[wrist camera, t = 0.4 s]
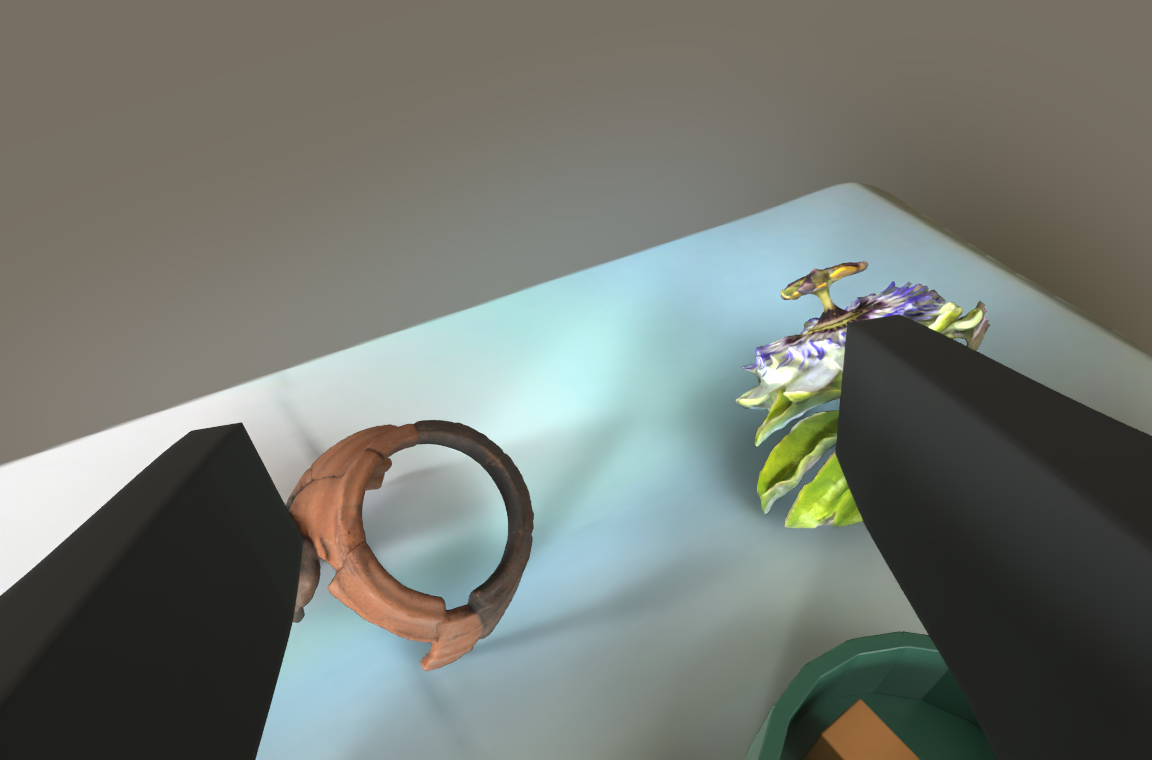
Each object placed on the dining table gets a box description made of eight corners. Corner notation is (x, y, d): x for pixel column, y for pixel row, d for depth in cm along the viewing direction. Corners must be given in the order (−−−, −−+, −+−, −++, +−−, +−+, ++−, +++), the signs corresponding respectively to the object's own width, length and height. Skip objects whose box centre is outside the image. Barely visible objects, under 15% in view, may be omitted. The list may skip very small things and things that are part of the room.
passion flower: (759, 468, 42) (834, 266, 40) (958, 559, 36) (1059, 325, 34) (661, 481, 33) (752, 220, 31) (903, 606, 27) (1037, 290, 25)
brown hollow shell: (425, 447, 36) (496, 370, 30) (502, 634, 33) (597, 592, 27) (146, 527, 28) (164, 445, 22) (223, 774, 26) (266, 760, 20)
